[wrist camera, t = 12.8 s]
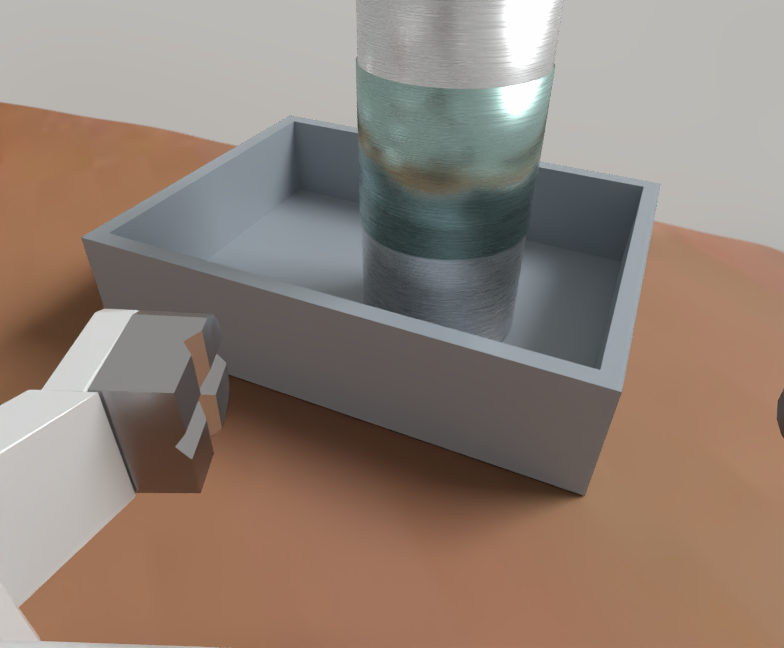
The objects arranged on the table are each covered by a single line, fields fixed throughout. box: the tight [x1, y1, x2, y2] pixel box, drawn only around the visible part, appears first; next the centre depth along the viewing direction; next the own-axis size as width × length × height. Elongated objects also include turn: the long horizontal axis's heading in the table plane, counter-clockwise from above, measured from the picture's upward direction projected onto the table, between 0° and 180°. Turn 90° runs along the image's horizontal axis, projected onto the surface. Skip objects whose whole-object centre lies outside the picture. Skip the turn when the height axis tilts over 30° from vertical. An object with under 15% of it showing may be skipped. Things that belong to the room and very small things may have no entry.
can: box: [356, 0, 564, 342], centre depth 19 cm, size 6×6×12 cm
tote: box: [81, 116, 660, 496], centre depth 24 cm, size 17×13×4 cm
